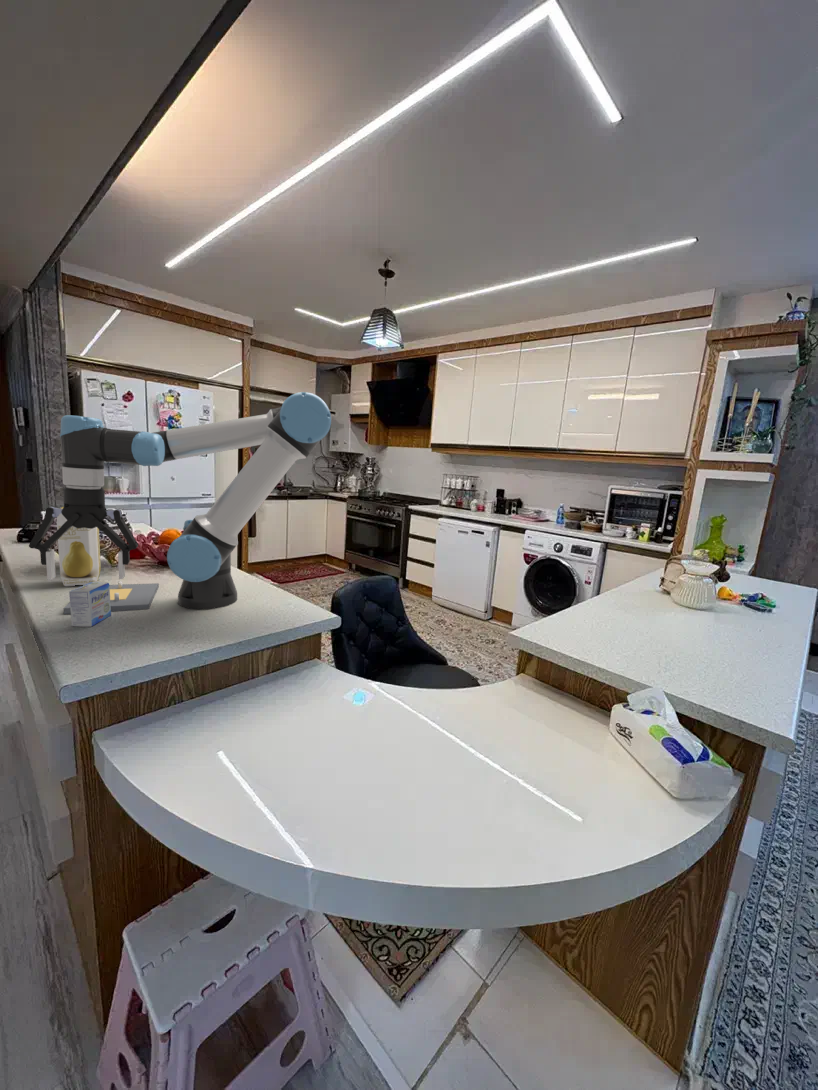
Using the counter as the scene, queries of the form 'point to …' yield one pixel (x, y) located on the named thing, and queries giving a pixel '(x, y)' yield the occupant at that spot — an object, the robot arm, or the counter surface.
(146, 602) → the board
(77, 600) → the medicine box
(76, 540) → the juice carton
